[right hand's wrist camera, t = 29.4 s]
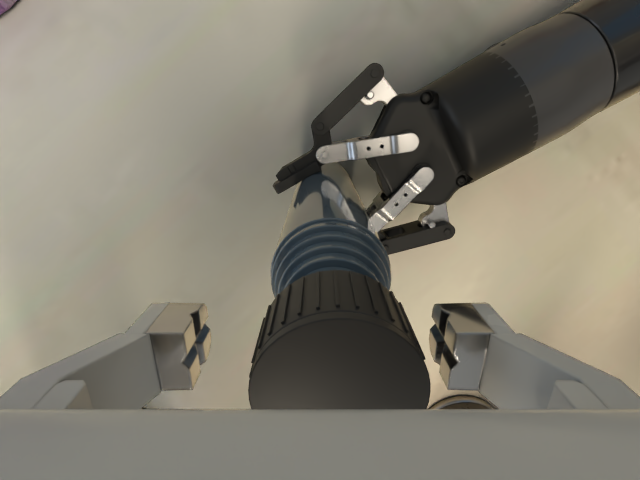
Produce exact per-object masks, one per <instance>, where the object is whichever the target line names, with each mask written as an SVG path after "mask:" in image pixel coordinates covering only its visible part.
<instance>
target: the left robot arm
mask: <svg viewBox="0 0 640 480" xmlns="http://www.w3.org/2000/svg"><path fill="white" fill-rule="evenodd" d="M383 76H384V70H383V68H382V66H381V65H380V64H378V63H372V64H370V65H369V66H368V67H367V68H366V69H365V70H364V71H363V72H362V73H361V74H360V75H359V76H358V77H357V78H356V79H355V80H354V81H353V82H352V83H351V84H350V85H349V86H348V87H347V88H346V89H345V90H344V91H343V92H342V93H341V94H340V95H339V96H338V97H336V98H335V99H334V100H333V101H332V102H331V103H330V104H329V105H328V106H327V107H326V108H325V109H324V110H323V111H322V112H321V113H320V114H319V115H318V116H317V117H316V118H315V119H314V120H313V122H312V125H311V128H312V133H313V139H314V146H313V148H312V150H311V151H309V152H308V153H306V154H304V155H302V156H301V157H299V158H297V159H296V160H294V161H292V162H290V163H289V164H287V165H285V166H284V167H282V168H281V170H280V171H279V172H278V174H277V175H276V177H277V178H278V180H277V181H276V182H275V183H274V185H273V187H274V189H275V190H276V192H277V194H279V193H281V192H283V191H285V190H287V189H288V188H290V187H292V186H294V185H295V184H297V183H299V182H301V181H302V180H304V179H306V178H307V177H309V176H311V175H313V174H315V173H317V172H318V171H320V170H321V166H322V165H324V164H327V163H334V162H340V161H346V160H358V159H365V158H366V160H367V162H368V164H369V165H370V166H371V167H372V168H373V170H374V171H375V172H376V175H377V180H378V184H379V186H380V188H381V189H382V191H381V192H380V193H379V194H378V195H377V196H376V197H375V198H374V200H373V202H372V204H371V205H370V206H369V207H368V208H367V209H366V211H367V213H368V215H369V217H370V219H371V221H372V223H373V225H374V227H375V229H376V231H377V233H378V235H379V237H380V239H381V241H382V243H383V245H384V247H385V249H386V252H387V254H388V255H389V254H393V253H397V252H401V251H405V250H408V249H412V248H416V247H420V246H424V245H428V244H431V243H435V242H439V241H443V240H447V239H450V238H452V237H453V236H454V234H455V228H454V227H453V226H452V225H451V224H450V223H449V219H448V213H447V207H446V202H447V201H448V200H449V199H450V198H451V197H452V195H453V194H454V193H455V192H456V191H457V190H458V189H459V188H461V187H463V186H465V185H467V184H470V183H472V182H474V181H476V180H478V179H480V178H482V177H484V176H486V175H487V174H489V173H491V172H493V171H495V170H497V169H499V168H501V167H503V166H505V165H507V164H509V163H511V162H513V161H514V160H516V159H518V158H520V157H522V156H524V155H526V154H528V153H530V152H532V151H534V150H536V149H538V148H540V147H541V146H543V145H545V144H547V143H549V142H551V141H553V140H555V139H557V138H559V137H561V136H562V135H564V134H566V133H568V132H569V131H571V130H572V129H574V128H575V127H577V126H578V125H580V124H581V123H583V122H584V121H586V120H587V119H589V118H590V117H592V116H593V115H595V114H597V113H599V112H601V111H603V110H605V109H607V108H609V107H610V106H612V105H614V104H616V103H618V102H620V101H622V100H624V99H626V98H628V97H630V96H632V95H634V94H635V93H637V92H639V91H640V0H581V1H579V2H578V3H576V4H574V5H572V6H571V7H569V8H567V9H566V10H564V11H562V12H560V13H559V14H557V15H555V16H553V17H551V18H549V19H547V20H545V21H543V22H541V23H539V24H536V25H534V26H531V27H529V28H527V29H524V30H522V31H520V32H518V33H516V34H515V35H513V36H511V37H509V38H508V39H506V40H504V41H502V42H500V43H497V44H494V45H492V46H491V47H489V48H488V49H487V50H485V52H484V53H482V54H480V55H478V56H477V57H475V58H473V59H472V60H470V61H468V62H466V63H465V64H463V65H461V66H460V67H458V68H456V69H454V70H453V71H451V72H449V73H448V74H446V75H444V76H442V77H441V78H439V79H437V80H436V81H434V82H432V83H430V84H429V85H427V86H425V87H423V88H422V89H420V90H418V91H416V92H414V93H411V94H399V95H397V93H396V92H395V91H394V89H393V88H392V87H391V86H390V84H389V83H388V82H387V80H386V79H385V78H384V77H383ZM359 101H360V102H361V103H362V104H363V105H372V104H374V103H375V102H377V101H380V102H382V103H384V104H385V105H384V107H383V109H382V111H381V113H380V115H379V118H378V120H377V122H376V124H375V126H374V128H373V130H372V132H371V134H370V135H369V136H363V137H357V138H351V139H346V140H341V141H335V142H331V136H330V129H331V128H332V127H333V126H334V125H335V124H336V123H337V122H339V121H340V120H341V119H342V118H343V117H344V116H345V115H346V114H347V113H348V112H349V111H350V110H351V109H352V108H353V107H354V106H355V105H356V104H357V103H358V102H359ZM395 203H397V204H395ZM409 203H417V204H426V205H430V207H429V209H428V210H427V211H426V212H424V213H422V214H421V215H420V216H419V218H418V220H417V221H414V222H410V223H406V224H402V225H399V226H395V227H391V228H388V229H384V230H381V229H382V228H383V227H384V226H385V224H386V223H387V222H389V221H392V220H393V219H394V218H395V217H396V216H397V215H398V214H399V213H400V212H401V211H402V210H403V209H404V208H405V207H406V206H407V205H408V204H409ZM430 409H493V408H492V407H491V406H490V405H489V404H488V403H487V402H485V401H483V400H481V399H479V398H476V397H471V396H457V397H451V398H448V399H445V400H443V401H440V402H439V403H437V404H435V405H434V406H433V407H431V408H430Z"/></svg>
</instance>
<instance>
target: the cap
mask: <svg viewBox="0 0 640 480" xmlns="http://www.w3.org/2000/svg"><path fill="white" fill-rule="evenodd" d="M424 360H425V356H424V354H423V352H422V349H421V347H420V345H419V343H418V340H417V338H416V336H415V333H414V331H413V329H412V327H411V324H410V322H409V320H408V318H407V315H406V313H405V311H404V309H403V306H402V304H401V302H399V303H398V301H397V299H396V298H395V296H394V294H393V292H392V291H389V290H388V289H387V288H386V287H384V286H383V285H382V283H381V282H378V281H376V280H374V279H372V278H370V277H368V276H367V275H363V274H360V273H356V272H352V271H345V270H328V271H320V272H316V273H312V274H309V275H307V276H303V277H301V278H300V279H298V280H296V281H294V282H293V283H291V284H288V286H287V287H286V288H285V289H284V290H283V291H281V292H280V294H277V295H276V298H275V300H274V301H273V303H272V304H271V305H269V306H268V310H267V313H266V317H265V318H263V322H262V326H261V329H260V333H259V337H258V340H257V344H256V347H255V351H254V355H253V358H252V362H251V363H253V364H252V368H251V372H250V375H249V378H250V380H249V389H248V391H249V401H250V405H251V409H427V406H428V403H429V397H430V378H429V373H428V370H427V367H426V364H425V362H424Z"/></svg>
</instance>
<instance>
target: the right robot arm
mask: <svg viewBox="0 0 640 480" xmlns="http://www.w3.org/2000/svg"><path fill="white" fill-rule="evenodd" d="M207 318H208V312H207V307H206V305H205V304H203V303H152V304H151V305H150V306H149V307H148V308H147V309H146V310H145V311H144V312H143V313H142V315H141V316H140V317H139V318H138V319H137V320H136V321H135V322H134V323H133V325H132V326H131V327H130V328H129V329H128V330H127V331H126V332H125V333H124V334H117V335H115V336H113V337H110V338H108V339H106V340H104V341H102V342H100V343H97V344H95V345H93V346H91V347H89V348H87V349H84V350H82V351H80V352H78V353H76V354H74V355H71V356H69V357H67V358H65V359H63V360H61V361H58V362H56V363H54V364H52V365H50V366H48V367H45V368H43V369H41V370H39V371H37V372H35V373H32V374H30V375H28V376H26V377H24V378H22V379H20V380H19V381H18V382H17V383H16V384H14V385H13V386H12V387H11V388H10V389H9V390H8V391H7V392H5V393H4V394H3V395H2V396H1V397H0V480H640V397H639V396H638V395H637V394H636V393H635V392H634V391H632V390H631V389H630V388H629V387H628V386H627V385H626V384H625V383H623V382H622V381H621V380H620V379H618V378H616V377H614V376H612V375H610V374H607V373H605V372H603V371H601V370H599V369H597V368H594V367H592V366H590V365H588V364H586V363H584V362H581V361H579V360H577V359H575V358H573V357H571V356H568V355H566V354H564V353H562V352H560V351H558V350H555V349H553V348H551V347H549V346H547V345H545V344H542V343H540V342H538V341H536V340H534V339H532V338H529V337H527V336H525V335H523V334H516V333H515V332H514V331H513V330H512V329H511V328H510V327H509V326H508V325H507V323H506V322H505V321H504V320H503V319H502V318H501V317H500V316H499V315H498V314H497V312H496V311H495V310H494V309H493V308H492V307H491V306H490V305H489V304H488V303H451V304H435V305H434V307H433V311H432V318H433V320H434V322H435V325H434V326H433V327H432V328H431V329H430V334H429V345H430V351H431V355H432V357H433V360H434V361H435V362H436V363H438V364H439V365H440V371H439V373H440V375H441V377H442V379H443V381H444V383H445V385H446V387H447V389H448V390H479V392H480V393H481V394H482V395H483V396H484V397H486V398H487V399H488V400H489V401H490V402H492V403H493V404H494V405H495V406H497V407H498V408H499V409H141V408H142V407H144V406H145V405H146V404H147V403H148V402H150V401H151V400H152V399H153V398H155V397H156V396H157V395H158V394H159V393H161V390H193V387H194V385H195V383H196V381H197V379H198V377H199V375H200V373H201V371H200V365H201V364H202V363H204V362H205V361H206V360H207V357H208V355H209V351H210V346H211V333H210V329H209V328H208V327H207V326H206V325H205V322H206V320H207Z"/></svg>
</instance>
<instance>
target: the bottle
mask: <svg viewBox="0 0 640 480" xmlns="http://www.w3.org/2000/svg"><path fill="white" fill-rule="evenodd" d="M328 270H345V271H352V272H356V273H360V274H363V275H367V276H368V277H370V278H372V279H374V280H376V281H378V282H381V283H382V285H383V286H384V287H386V288H387V289H388V290H390V286H391V270H390V261H389V257H388V254H387V252H386V249H385V247H384V245H383V243H382V241H381V239H380V237H379V235H378V233H377V231H376V229H375V227H374V225H373V223H372V221H371V219H370V217H369V215H368V213H367V211H366V209H365V207H364V205H363V203H362V201H361V199H360V197H359V195H358V193H357V191H356V189H355V187H354V185H353V183H352V181H351V179H350V177H349V175H348V173H347V171H346V170H345V169H344V168H343V166H341V165H340V164H339V163H337V162H334V163H327V164H324V165H322V166H321V170H320V171H318V172H317V173H315V174H313V175H311V176H309V177H307V178H306V179H304V180H302V181H301V182H299V183H297V186H296V189H295V192H294V195H293V198H292V201H291V204H290V207H289V210H288V213H287V216H286V220H285V223H284V226H283V229H282V232H281V235H280V238H279V241H278V244H277V247H276V250H275V253H274V256H273V260H272V264H271V285H272V290H273V294H274V297H275V298H276V295H277V294H280V292H281V291H283V290H284V289H285V288H286V287H287V286H288V284H291V283H293V282H294V281H296V280H298V279H300V278H301V277H303V276H307V275H309V274H312V273H316V272H320V271H328Z"/></svg>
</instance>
